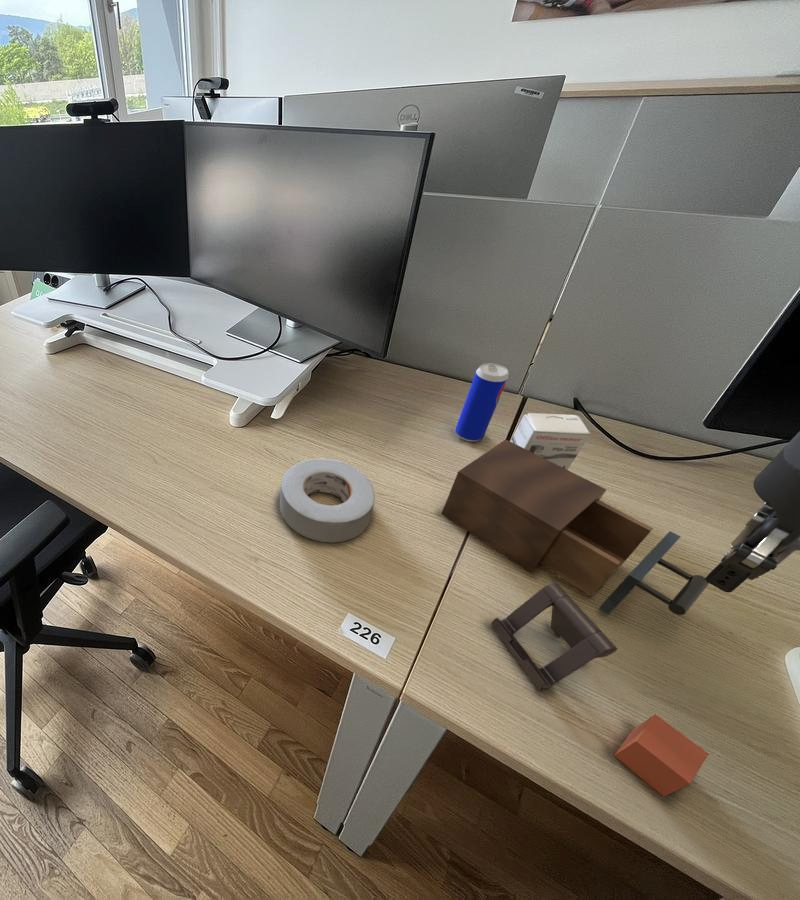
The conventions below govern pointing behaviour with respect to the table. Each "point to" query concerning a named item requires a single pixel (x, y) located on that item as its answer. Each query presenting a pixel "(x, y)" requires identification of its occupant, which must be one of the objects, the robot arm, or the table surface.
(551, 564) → the drawer
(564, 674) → the tablet stand
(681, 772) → the block
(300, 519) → the tape roll
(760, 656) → the table surface
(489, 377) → the beverage can
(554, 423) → the ink box
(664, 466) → the table surface
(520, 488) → the cabinet
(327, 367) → the table surface
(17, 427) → the table surface
